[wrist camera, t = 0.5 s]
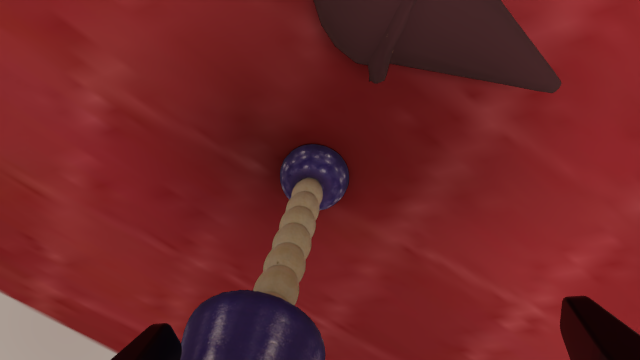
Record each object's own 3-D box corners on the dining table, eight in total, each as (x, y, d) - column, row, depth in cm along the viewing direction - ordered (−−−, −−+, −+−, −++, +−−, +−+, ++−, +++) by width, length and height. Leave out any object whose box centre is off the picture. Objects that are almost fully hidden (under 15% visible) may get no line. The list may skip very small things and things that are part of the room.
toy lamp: (363, 201, 25) (337, 518, 10) (296, 223, 26) (182, 532, 11) (332, 133, 23) (246, 384, 8) (263, 159, 24) (78, 418, 9)
